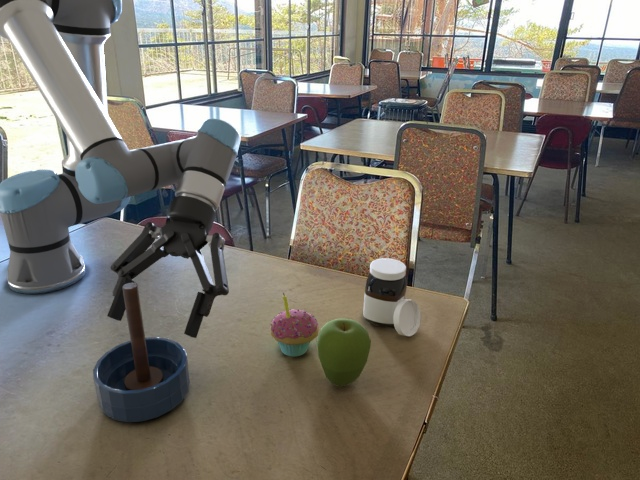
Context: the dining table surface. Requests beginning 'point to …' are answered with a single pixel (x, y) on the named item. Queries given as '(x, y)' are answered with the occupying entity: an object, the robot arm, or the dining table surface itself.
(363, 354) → the apple
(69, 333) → the dining table surface
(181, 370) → the bowl
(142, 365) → the wooden peg stand
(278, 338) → the cupcake
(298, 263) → the dining table surface
